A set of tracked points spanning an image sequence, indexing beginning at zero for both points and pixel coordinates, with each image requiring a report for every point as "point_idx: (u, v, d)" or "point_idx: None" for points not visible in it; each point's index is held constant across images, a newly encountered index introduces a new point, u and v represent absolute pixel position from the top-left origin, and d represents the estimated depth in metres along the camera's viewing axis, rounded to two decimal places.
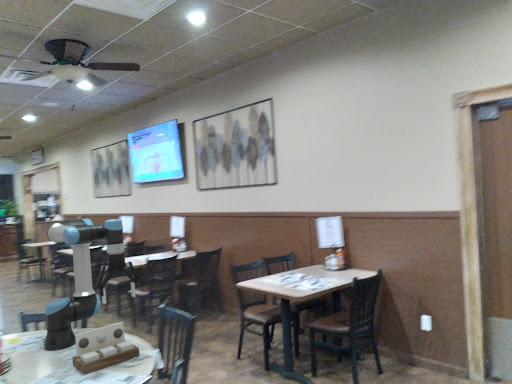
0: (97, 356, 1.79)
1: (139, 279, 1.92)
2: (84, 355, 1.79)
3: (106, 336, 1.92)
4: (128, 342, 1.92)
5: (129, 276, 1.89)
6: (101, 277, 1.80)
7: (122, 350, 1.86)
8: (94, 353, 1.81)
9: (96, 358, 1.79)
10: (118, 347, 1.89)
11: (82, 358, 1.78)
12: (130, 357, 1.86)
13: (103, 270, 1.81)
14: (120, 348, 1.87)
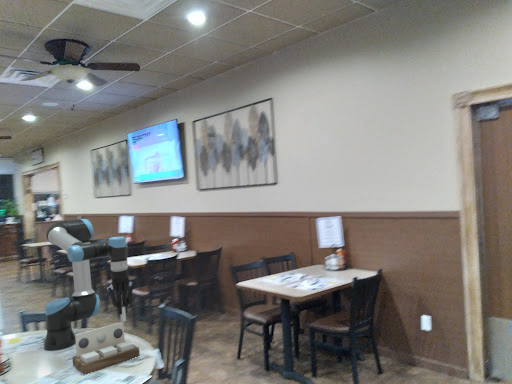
0: (97, 356, 1.79)
1: (129, 303, 1.91)
2: (84, 355, 1.79)
3: (106, 336, 1.92)
4: (128, 342, 1.92)
5: (124, 297, 1.90)
6: (113, 297, 1.87)
7: (122, 350, 1.86)
8: (94, 353, 1.81)
9: (96, 358, 1.79)
10: (118, 347, 1.89)
11: (82, 358, 1.78)
12: (130, 357, 1.86)
13: (111, 291, 1.86)
14: (120, 348, 1.87)
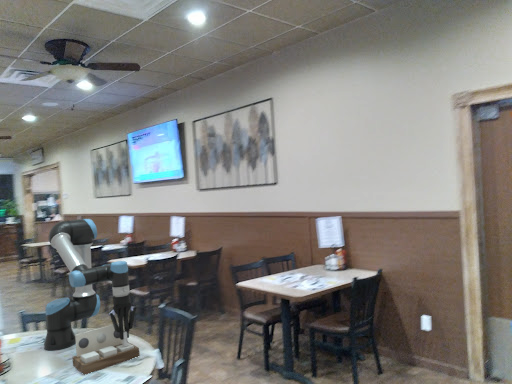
0: (97, 356, 1.79)
1: (131, 328, 1.91)
2: (84, 355, 1.79)
3: (106, 336, 1.92)
4: (128, 344, 1.92)
5: (126, 322, 1.90)
6: (115, 322, 1.87)
7: None
8: (94, 353, 1.81)
9: (96, 358, 1.79)
10: (118, 349, 1.89)
11: (82, 358, 1.78)
12: (130, 357, 1.86)
13: (112, 316, 1.86)
14: (120, 350, 1.87)
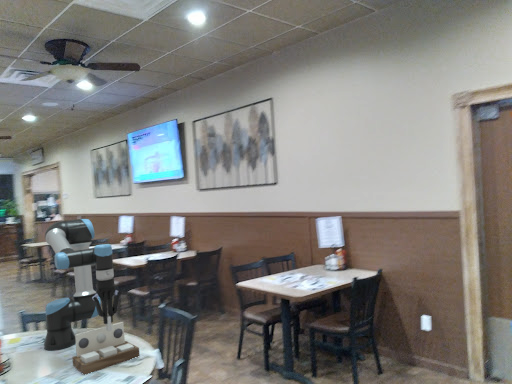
0: (97, 356, 1.79)
1: (115, 312, 1.87)
2: (84, 355, 1.79)
3: (106, 336, 1.92)
4: (128, 345, 1.92)
5: (110, 306, 1.86)
6: (99, 306, 1.82)
7: None
8: (94, 353, 1.81)
9: (96, 358, 1.79)
10: (118, 350, 1.89)
11: (82, 358, 1.78)
12: (130, 357, 1.86)
13: (96, 300, 1.82)
14: (120, 351, 1.87)
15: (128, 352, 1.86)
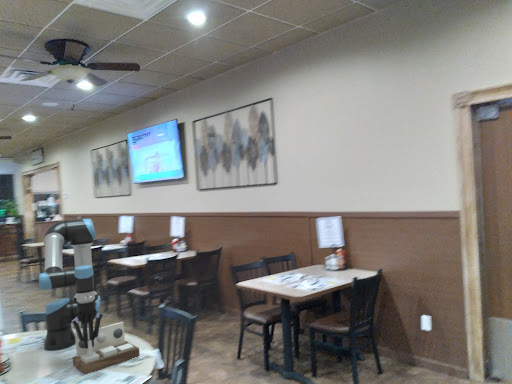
0: (97, 357, 1.79)
1: (96, 336, 1.81)
2: (84, 356, 1.79)
3: (106, 336, 1.92)
4: (128, 345, 1.92)
5: (91, 330, 1.80)
6: (79, 330, 1.76)
7: None
8: (94, 354, 1.81)
9: (96, 358, 1.79)
10: (118, 350, 1.89)
11: (82, 359, 1.78)
12: (130, 357, 1.86)
13: (76, 324, 1.76)
14: (120, 351, 1.87)
15: (128, 352, 1.86)
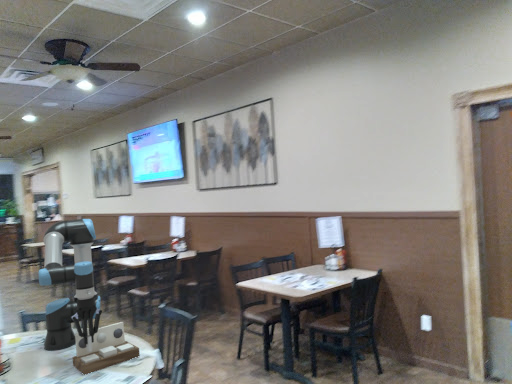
0: (97, 359, 1.79)
1: (96, 332, 1.81)
2: (84, 358, 1.79)
3: (106, 336, 1.92)
4: (128, 345, 1.92)
5: (90, 326, 1.80)
6: (78, 326, 1.77)
7: None
8: (94, 356, 1.81)
9: None
10: (118, 350, 1.89)
11: (82, 361, 1.78)
12: (130, 357, 1.86)
13: (75, 320, 1.76)
14: (120, 351, 1.87)
15: (128, 352, 1.86)
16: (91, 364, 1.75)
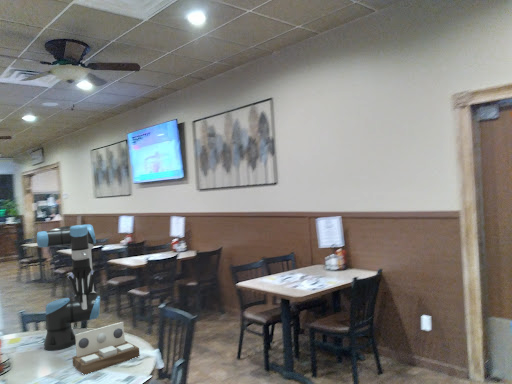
0: (97, 359, 1.79)
1: (90, 292, 1.92)
2: (84, 358, 1.79)
3: (106, 336, 1.92)
4: (128, 345, 1.92)
5: (85, 285, 1.90)
6: (74, 285, 1.87)
7: None
8: (94, 356, 1.81)
9: None
10: (118, 350, 1.89)
11: (82, 361, 1.78)
12: (130, 357, 1.86)
13: (71, 279, 1.86)
14: (120, 351, 1.87)
15: (128, 352, 1.86)
16: (91, 364, 1.75)
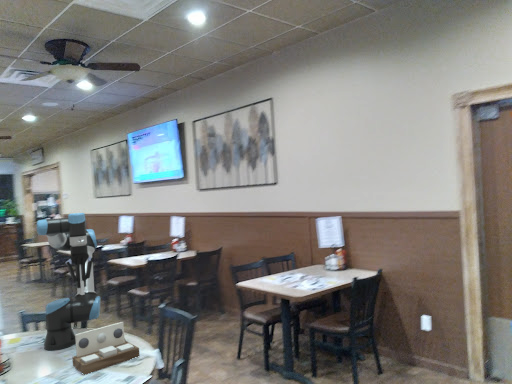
0: (97, 359, 1.79)
1: (88, 278, 1.97)
2: (84, 358, 1.79)
3: (106, 336, 1.92)
4: (128, 345, 1.92)
5: (83, 271, 1.96)
6: (72, 271, 1.92)
7: None
8: (94, 356, 1.81)
9: None
10: (118, 350, 1.89)
11: (82, 361, 1.78)
12: (130, 357, 1.86)
13: (69, 265, 1.92)
14: (120, 351, 1.87)
15: (128, 352, 1.86)
16: (91, 364, 1.75)
